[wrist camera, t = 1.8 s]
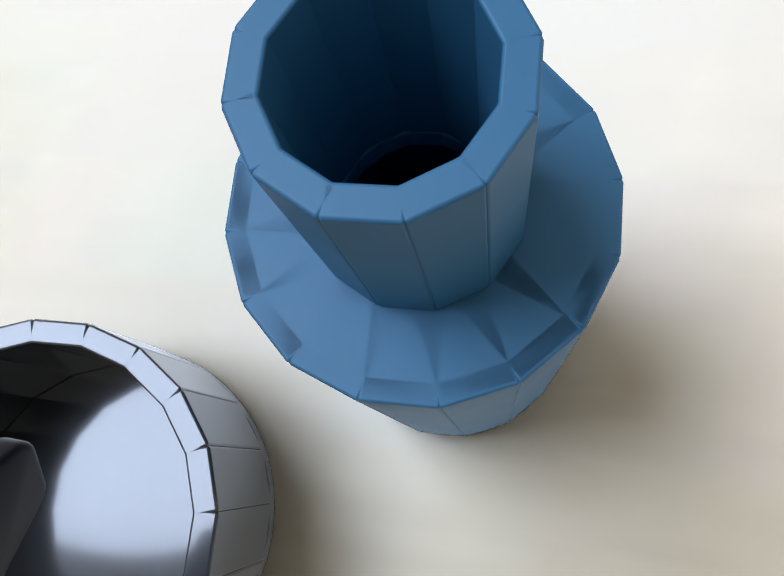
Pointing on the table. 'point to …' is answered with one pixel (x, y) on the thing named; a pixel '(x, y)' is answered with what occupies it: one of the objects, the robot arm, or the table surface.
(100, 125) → the table surface
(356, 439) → the table surface
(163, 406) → the cup holder
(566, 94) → the bottle
